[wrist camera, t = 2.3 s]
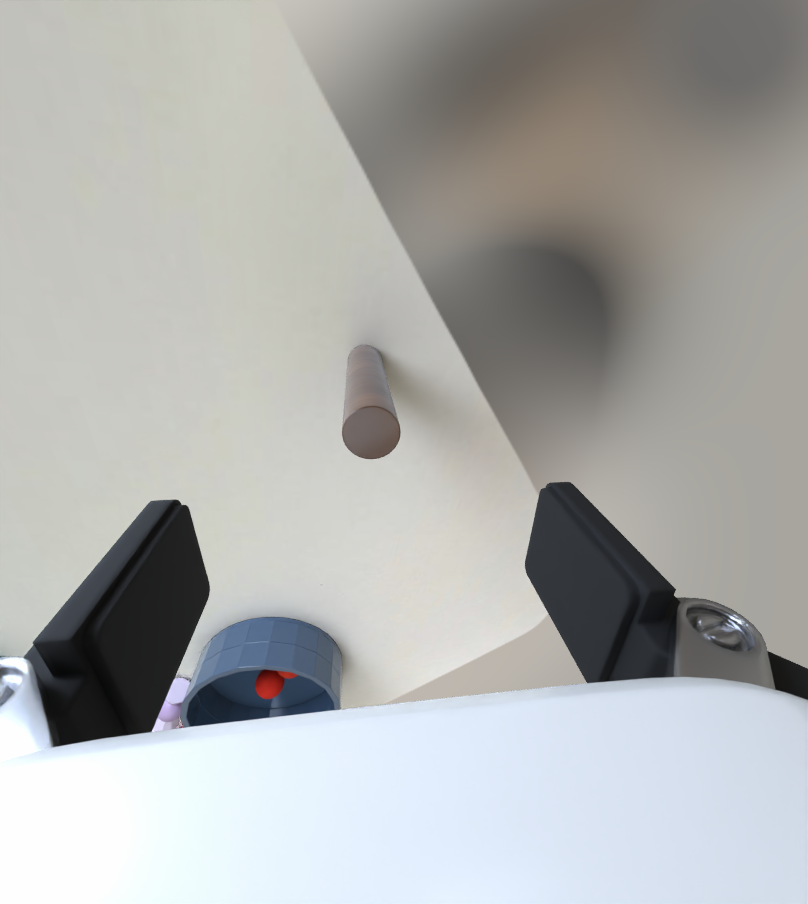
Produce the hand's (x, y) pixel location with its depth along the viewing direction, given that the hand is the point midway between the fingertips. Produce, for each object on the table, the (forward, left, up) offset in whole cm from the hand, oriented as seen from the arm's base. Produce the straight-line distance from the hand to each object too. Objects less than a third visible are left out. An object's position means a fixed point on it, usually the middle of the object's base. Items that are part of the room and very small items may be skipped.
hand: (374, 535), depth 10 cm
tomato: (+11, +34, -20) cm, 41 cm away
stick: (0, 0, -22) cm, 22 cm away
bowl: (+11, +34, -22) cm, 42 cm away
